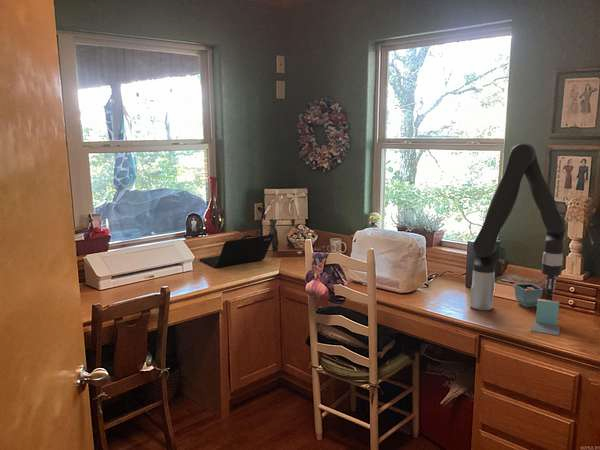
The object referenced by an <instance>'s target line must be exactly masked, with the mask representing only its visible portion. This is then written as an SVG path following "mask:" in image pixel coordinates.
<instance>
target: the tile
mask: <svg viewBox="0 0 600 450" xmlns="http://www.w3.org/2000/svg"><path fill="white" fill-rule="evenodd" d="M559 311H560V301H557V300H556V301H555V300H552V301H550V300H546V299H538V300H537V305H536V311H535V312H536V313H535V314H536V316H535V323H541V324H548V325H554V326H558V320H559Z"/></svg>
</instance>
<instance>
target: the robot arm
mask: <svg viewBox="0 0 600 450" xmlns="http://www.w3.org/2000/svg"><path fill="white" fill-rule="evenodd" d="M524 176H525V178H526V181H527V183H528V187H529V190H530V193H531V196H532V199H533V200H534V203H535V205H536V207H537V209H538V211H539V213H540V216H541V219H542V223H543V224H544V225H543V226H544V228H545V229H546V236H545V239H544V244H543V245H544V246H543V255H542V261H541V273H542V274H543V275H544V276H545V275H546V277H545V280H544V283H545V287H544V288H545V294H546V296H545V300H550V301H553V295H554V291H555V288H556V284H557V283H556V282H557V278H556V277H559V276H561V275H562V270H563V260H564V256H563V251H564V239H565V237H564V236H565V232H566V225H567V223H566V219H565V217H563V216H562V215H560V213H559V211H558V208H557V203H556V200H555V197H554V195H553V193H552V192H551V190H550V188H549V186H548V183H547V182H546V179H545V177H544V175H543V173H542V169H541V168H540V164H539V161H538V157H537V152H536V149H535V148H534V147H533V145H531V144H529V143H518V144H517V145H514V146H513V147H512V149H511V150H510V153H509V156H508V160H507V162H506V166H505V169H504V173H503V175H502V177H501V179H500V181H498V184H497V186H496V189H495V191H494V194H493V196H492V198H491V201H490V202H489V206H488V209H487V212H486V214H485V218H484V221H483V224H482V226H481V228H480V230H479V233H478V235H477V236H476V238H475V239H474V241H473V244H472V249H473V252H474V254H475V256H474V261H473V265H472V277H471V278H472V281H471V282H472V283H471V287H470V299H469V307H470V308H473V309H475V310H479V311H490V310H492V309H493V307H494V305H493V304H494V303H493V302H494V290H495V289H494V288H495V276H496V275H495V272H496V266H497V257H498V249H499V247H498V245H499V244H498V240H497V239H498V237H499V234H500V231H501V229H502V228H503V226H504V225H505V223H506V221H507V220H508V218H509V216H510V215H511V213H512V211H513V209H514V206H515V204H516V202H517V198H518V196H519V191H520V186H521V182H522V180H523V177H524Z"/></svg>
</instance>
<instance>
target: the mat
mask: <svg viewBox="0 0 600 450" xmlns="http://www.w3.org/2000/svg"><path fill="white" fill-rule="evenodd" d="M560 329H561V326H559V325H557V326H554V325H548V324H541V323H536V321H534V322H532V323H531V328H530V332H533V333H539V334H546V335H551V336H557V337H559V336H560Z"/></svg>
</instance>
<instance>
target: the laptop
mask: <svg viewBox="0 0 600 450" xmlns="http://www.w3.org/2000/svg"><path fill="white" fill-rule="evenodd" d="M274 237H275V234H274V233H273V234H265V235H259V236H253V237H246V238H244V237H243V238H238V239H232V240H231V239H230V240H226V241H225V242H224V244H223V246H222V248H221V251H220V255H215V256H209V257H202V258H201V257H200V258H199V261H200V262H202V263H204V264H206V265H208V266H210V267H212V268H214V269H221V268H226V267H232V266H238V265H243V264H248V263H254V262H259V261H263V260H264V259H265V257H266V255H267V253H268V251H269V249H270V246H271V244H272V242H273V239H274Z"/></svg>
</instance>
